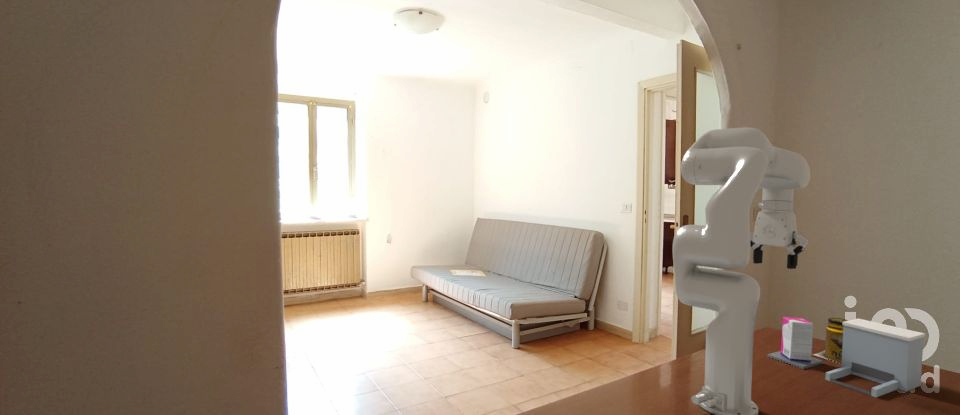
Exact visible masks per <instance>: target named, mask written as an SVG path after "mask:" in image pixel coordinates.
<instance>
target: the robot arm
mask: <svg viewBox="0 0 960 415" xmlns="http://www.w3.org/2000/svg"><path fill="white" fill-rule="evenodd" d="M680 173H681V176H682V178H683V180H684V181H685V182H686V183H688V184H690V185H693V186H721V187H720V188H719V189H718V190H717V191H715V193H714V194H712V196H711V197H710V199H709V200H708V201H707V203H706V205H705V208H704V209H705V210H704V211H705V212H704V213H705V225H702V224H686V225H683V226H680V227H679V228H678V229H677V230H676V232H675V234H674V235H673V240H672V248H671V249H672V261H673V263H672V264H673V274H674V286H675V288H674V289H675V293H676V297H677V299H678V300H679V301H680V303H681V304H683V305H686V306H690V307H694V308H700V309H706V310H709V311H712V312H713V311H714V312H717V313H718V315H717V316H716V317H715V318H714V319H712V320H711V322H709V324H708V325H707V327H706V330H705V331H706V332H705V353H704V354H705V356H704V357H705V359H704V382H703V383H704V386H703V385H702V387H701V391H699V392H698V393H696V394H694V395H692V396H691V398H690V400H691V402H692V403H693V404H694V405H699V407H700V408H702V409H703V410H705V411H706V412H709V413H711V414H713V415H759V407H758V405H757V404H756V402H754V401H753V400H752V382H753V381H752V380H753V379H752V378H753V356H754V332H755V322H756V316H757V312H758V306H759V303H760V297H761V287H760V284H759V282H758V281H757V280H756V279H755V278H754V277H752V276H750V275H748V274H745V273H743V272H737V271H732V270H741V269H744V268H745V267H747V266H748V264H749V262H750V259H751V251H753V252H752V253H753V254H752V260H753V261H752V262H753V264H755V265H756V264H763V256H764V254H763V251H764V250H763V247H765V246H767V247H776V248H785V249H786V250H787V251H788V252H787V253H789V254H788V255H787V260H786V268H787V269H789V270H792V269H797V266H798V255H800V254H801V253H802V252H803V251H805V249H806V247H807V246H808V244H809V243H810V240H809V239H807V238H805V237H804V236H802V235H800V234H798V225H797V224H798V223H797V216H796V213H795V212H793V210H794V209H793V208H794V195H795V194H794V190H801V189H804V188H806V187H807V186H808V185H809V183H810V180H811V169H810V166H809V163H808V161H807V160H806V159H805V157H804V156H803V155H801V153H797V152H796V151H791V150H788V149H784V148H781V147H777V146H774V145H773V144H772V143H771V142H770V140H769V138H768V137H767V136H766V134H765V133H764V132H763V131H761V130H760V129H758V128H755V127H751V126H750V127H748V126H747V127H746V126H745V127H744V126H743V127H733V128H732V127H731V128H720V129H711V130H708V131H706V132H705V133H703V134H702V135H701V136H700V137H698V138H697V140H696V141H695V142H694V143H693V144H692V145H691V146H690V147H689V148H688V149H687V150H686V152H685V154H684V155H683V157H682V160H681V163H680ZM759 189H761V190H762V198H761V202H759V203H758V204H757V206H758V208H760V209H761V211H760V210H759V211H758V213H757V216H756V218H755V224H754V230H753V231H752V232H751V227H750V226H751V222H750V209H751V205H752V202H753V200H754V198H755V195H756V193H757V192H758V190H759ZM798 242H799V245H797V243H798ZM703 267H704V268H703ZM707 267H708V268H707ZM712 268H715V269H712ZM721 269H722V270H721ZM730 270H731V271H730Z"/></svg>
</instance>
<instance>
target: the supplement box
mask: <svg viewBox="0 0 960 415" xmlns="http://www.w3.org/2000/svg"><path fill="white" fill-rule="evenodd" d="M781 326H782V328H781V343H780V344H781V345H780V351H781V354H782V355H783V356H785V357H786V358H787V359H789V360H790V361H802V362H811V357H812V356H813V353H812V351H813V350H812V349H813V337H814V336H813V335H814V334H813V333H814V323H813V322H811V321H809V320H807V319H805V318H803V317H789V316H783V317H782V325H781Z"/></svg>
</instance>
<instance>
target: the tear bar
mask: <svg viewBox="0 0 960 415" xmlns="http://www.w3.org/2000/svg"><path fill="white" fill-rule="evenodd" d="M829 382H830V383H834V384H836V385H839V386H842V387H845V388H848V389H851V390H854V391H856V392H859V393H862V394H865V395H868V396H870V397H872V396H871V391H867V390H865V389H862V388H860V387H857V386H853V385H850V384H848V383H845V382H841V381H839V380H837V379H835V380H834V379H830V381H829Z"/></svg>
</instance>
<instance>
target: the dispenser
mask: <svg viewBox="0 0 960 415" xmlns="http://www.w3.org/2000/svg"><path fill="white" fill-rule="evenodd" d="M842 325H844V326H843V346H842V364H840V366H841V367H838V368H835V369H832V370H829V371H826V372H825V379H824V380H825V381H828V382H830V379H834V380H838V379H840V378H844V377H846V376H850V375H853V376H856V377H859V378H864V379H866V380H869V381H873V382H876V383H878V384H879V385H875V386H873V387H871V391H870V392H871V396H870V397H873V398H879V397H882V396H884V395H886V394H889V393H891V392H892V393H893V392H894V391H897V390H900V391H903V392H909V391H910V390H914V389H915V388H918V387H920V386H921V385H922V368H923V367H922V366H923V355H924V354H923V352H924V351H923V350H924V339H925V337H926V333H924V332H920V331H915V330H911V329H906V328H903V327H898V326H895V325H888V324H885V323H881V322H877V321H871V320H867V319H862V318H854V319H850V320H848V321H845V322H842Z"/></svg>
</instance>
